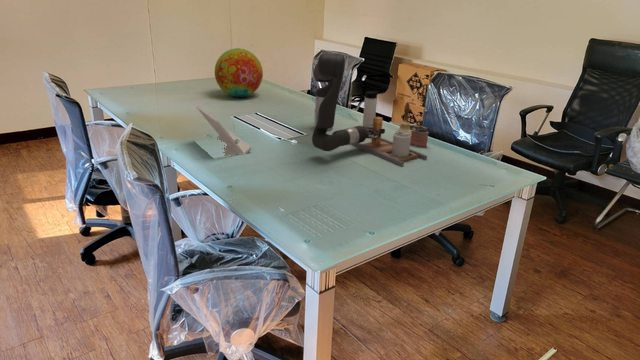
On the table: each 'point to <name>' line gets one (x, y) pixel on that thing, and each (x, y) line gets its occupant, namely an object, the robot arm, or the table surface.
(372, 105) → the travel mug
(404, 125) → the hand bell
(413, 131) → the lighter
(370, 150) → the rail
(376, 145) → the brown post on base
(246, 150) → the tablet stand
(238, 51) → the globe
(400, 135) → the can
